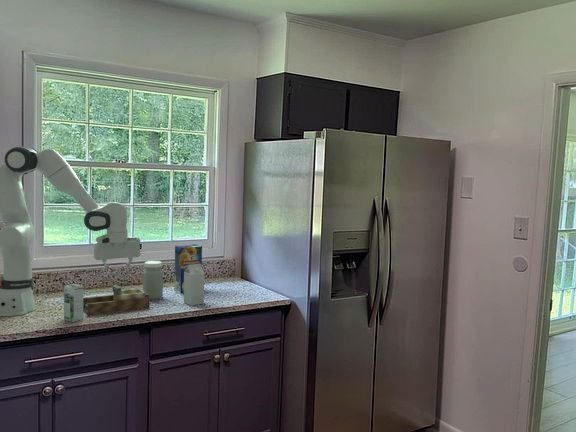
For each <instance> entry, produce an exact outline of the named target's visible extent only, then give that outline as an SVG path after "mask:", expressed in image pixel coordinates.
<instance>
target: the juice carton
mask: <svg viewBox="0 0 576 432" xmlns="http://www.w3.org/2000/svg"><path fill="white" fill-rule="evenodd" d="M202 262H203V245H198V244H184V245H183V244H182V245H175V246H174V292H176V293H178V294H180V295H182V294H183V295H184V272H185V270H186V269H187V268H188V265H193V264H201V267H202V268H203V264H202Z"/></svg>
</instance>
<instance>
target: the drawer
mask: <svg viewBox="0 0 576 432" xmlns="http://www.w3.org/2000/svg"><path fill="white" fill-rule="evenodd" d="M112 293H113V294H112V295H113V301H116V300H125V299H134V298H143V297H145V292H144V291H143V289H140V288H133V289H132V288H131V289H122V287H121V286H120V285H118V284H113V285H112Z"/></svg>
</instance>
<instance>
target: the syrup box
mask: <svg viewBox="0 0 576 432" xmlns="http://www.w3.org/2000/svg"><path fill="white" fill-rule="evenodd" d="M83 298H84V285H80V284H77V283H71V284H66V285H64V286H63V320H65V321H68V322H71V323H72V322H73V323H74V322H77V321H81V320H83V319H84V311H83Z"/></svg>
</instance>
